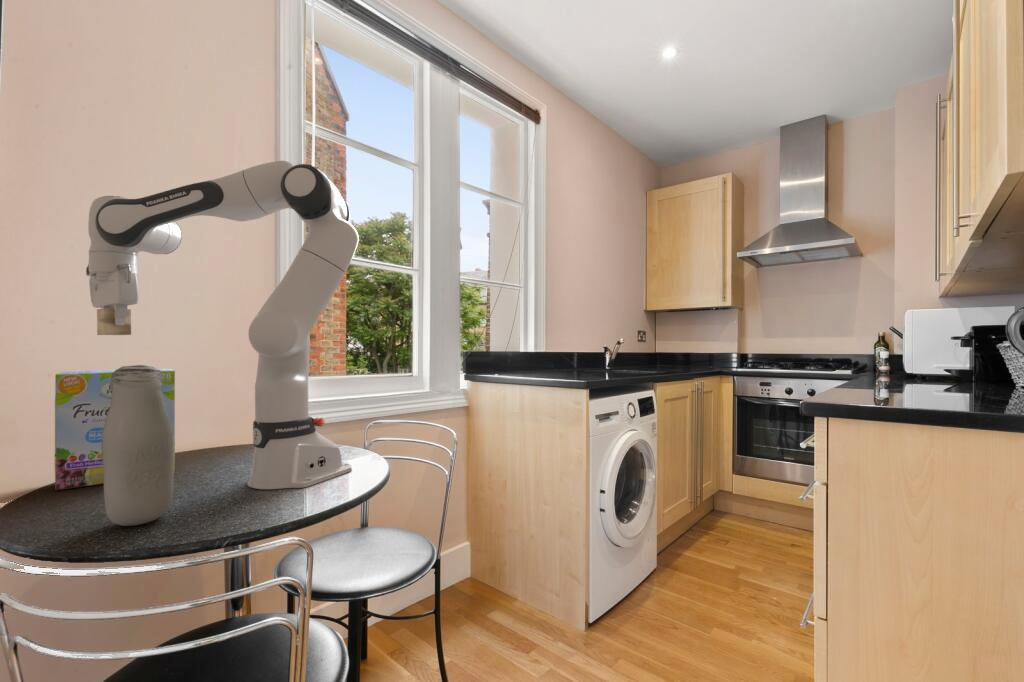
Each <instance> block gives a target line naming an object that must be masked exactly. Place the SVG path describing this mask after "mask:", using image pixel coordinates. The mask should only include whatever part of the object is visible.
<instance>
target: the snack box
mask: <svg viewBox="0 0 1024 682" xmlns="http://www.w3.org/2000/svg"><path fill="white" fill-rule="evenodd" d="M157 369H158V370H160V375H161V380H162V386H161V389H160V391H161V394H162V398H163V401H164V406H165V408H166V412H167V414H168V416H169V418H170V422H171V425H172V429H173V455H174V456H173V474H175V473H174V472H176V471H175V470H176V466H175V464H176V457H175V456H176V454H175V453H176V444H175V443H176V432H175V431H176V409H175V408H176V399H175V398H176V394H175V393H176V392H175V391H176V389H175V388H176V370H175V369H174V368H157ZM115 370H116V369H95V370H94V369H93V370H91V369H90V370H70V371H60V372H56V374H55V377H54V378H55V382H54V384H55V385H54V386H55V390H54V391H55V394H54V483H55V484H54V486H55V487H54V489H55V490H56V491H59V490H66V489H67V490H68V489H73V488H82V487H89V486H95V485H104V472H103V459H102V449H101V448H102V445H101V444H102V433H103V430H104V425H105V422H106V418H107V415H108V411H109V408H110V406H111V396H112V391H111V389H110V381H111V376H112V373H113V372H114V371H115Z"/></svg>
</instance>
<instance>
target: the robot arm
mask: <svg viewBox="0 0 1024 682" xmlns="http://www.w3.org/2000/svg"><path fill="white" fill-rule="evenodd" d="M90 204H91V205H90V208H89V212H88V225H87V226H88V230H87V231H88V236H89V239H90V246H89V250H88V264H87V266H86V268H85V275H86V276H87V277H89V279H88V281H89V294H90V295H89V296H90V300H91V301H90V302H91V305H92V307H93V308H94V309H96V308H97V309H103V308H108V309H114V310H115V318H113V319H114V325H125V317H126V314H127V309H128V306H133V305H137V304H138V303H139V285H138V284H139V283H138V275H139V270H138V269H139V267H138V266H139V265H138V264H139V263H138V262H139V261H138V260H139V258H138V256H139V255H138V254H139V252H145V253H150V254H153V255H169V254H171V253H174V252H175V251H176V250H177V249H178V248H179V247H180V245H181V242H182V239H183V238H182V237H183V235H182V230H181V229H182V228H181V227H180V226H179V224H178V223H177V222H178V221H181V220H184V219H187V218H191V217H192V218H193V217H199V216H207V217H216V218H222V219H226V220H231V221H237V222H249V221H253V220H259V219H262V218H264V217H268V216H269V215H272V214H274V213H276V212H279V211H281V210H282V211H283V210H286V209H292V210H293V211H294V212H295V213H296V214H297V216H298V217H299V218H300V219H301V220H302V221H303V222H304V223H305V224H306V225H308V226H309V228H308V230H309V231H308V234H307V237H306V239H305V240H304V243H303V244H302V245H301V247H300V249H299V250H298V252H297V253H296V255H295V257H294V259H293V261H292V263H290V266H289V267H288V270H287V271H286V273H285V275H284V276H283V278H282V280H281V281H280V282H279V283H278V285H277V286H276V287H275V289H274V290H273V291H272V293H271V294H270V296H269V297H267V300H266V301H265V302H264V304H263V305H262V306H261V309H259V311H258V312H257V314H256V315H255V317H254V319H252V321H251V322H250V325H249V328H248V332H247V333H248V341H249V343H250V345H251V347H252V348H253V349H254V351H256V353H257V354H258V361H257V368H256V370H257V371H256V378H255V383H254V415H255V416H254V417H255V418H254V420H253V422H252V443H253V447H254V448H253V449H254V450H253V459H252V464H251V472H250V475H249V478H248V482H247V486H248V487H249V488H252V489H256V490H257V489H258V490H280V489H289V488H290V489H292V488H293V489H294V488H295V489H296V488H297V489H299V488H307V487H311V486H313V485H316V484H319V483H322V482H325V481H327V480H329V479H333V478H336V477H338V476H341V475H344V474H346V473H349V472H351V471H352V470H353V469H352V465H351V464H349V463H347V462H344V461H343V459H342V454H341V449H340V447H339V446H338V445H337V444H336V443H334V442H333V441H332V440H330V439H329V438H327V437H325V436H324V435H322V434H321V433H319V432H317V429H316V427H320V428H321V427H324V425H325V424H326V422H325V421H326V420H325V419H324V418H322V417H315V418H313V417H312V416H310V415H309V378H310V377H309V376H310V375H309V373H310V351H311V350H310V349H311V348H310V347H311V344H310V343H311V338H310V337H311V333H310V332H311V330H313V328H314V326H315V325H316V324H317V321H318V319H319V318H320V317H321V314H323V312H324V310H325V309H326V307H327V306H328V304H329V303H330V301H331V299H332V298H333V296H334V295H335V294H334V293H335V292H336V291H337V290H338V287H339V285H340V283H341V281H342V279H343V278H344V276H345V274H346V272H347V271H348V269H349V267H350V265H351V262H352V260H353V257H354V255H355V254H356V250H357V247H358V244H359V238H360V237H359V233H358V231H357V230H356V228H355V227H354V226H353V225H352V224H351V223H350V222H351V211H350V208H349V206H348V204H347V203H346V201H345V200H344V198H343V197H342V195H341V193H340V191H339V189H338V188H337V187H336V186H335V184H334V183H333V182H332V181H331V180H330V179H329V178H328V176H327V175H326V174H325V172H323V171H322V170H320V169H318V168H317V167H316V166H313V165H310V164H307V163H301V164H296V165H294V164H292V163H291V162H289V161H287V160H276V161H271V162H264V163H261V164H257V165H253V166H250V167H248V168H246V169H242V170H240V171H236V172H235V173H231V174H228V175H225V176H221V177H218V178H214V179H210V180H205V181H204V180H203V181H200V182H195V183H190V184H186V185H182V186H179V187H175V188H172V189H168V190H164V191H161V192H158V193H154V194H151V195H147V196H144V197H140V198H139V197H138V198H127V197H124V196H118V195H117V196H115V195H104V196H100V197H97V198H95V199H94V200H93V201H92V203H90Z"/></svg>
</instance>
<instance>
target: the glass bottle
mask: <svg viewBox="0 0 1024 682" xmlns="http://www.w3.org/2000/svg"><path fill="white" fill-rule="evenodd" d="M158 369H159V368H156V367H154V366H150V365H142V364H139V365H137V364H136V365H122V366H121V367H119V368H116V369H114V370H115V371H114V372H113V373H112V376H111V381H110V389H111V391H112V396H111V406H110V408H109V411H108V415H107V418H106V422H105V425H104V430H103V433H102V444H101V445H102V448H101V449H102V459H103V472H104V484H103V501H104V502H103V503H104V508H105V515H106V516H107V517H108V519H109V521H111V523H113V524H115V525H118V526H122V527H129V526H130V527H131V526H139V525H144V524H149V523H150V522H153V521H155V520H158V519H159V518H161V517H162V516H164V515H165V514H166V513H167V512H168V511H169V510H170V507H171V505H172V504H173V500H174V473H173V456H174V455H173V429H172V425H171V422H170V418H169V416H168V414H167V412H166V408H165V406H164V401H163V398H162V394H161V391H160V389H161V386H162V380H161V375H160V370H158Z"/></svg>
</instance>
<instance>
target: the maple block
mask: <svg viewBox="0 0 1024 682" xmlns="http://www.w3.org/2000/svg"><path fill="white" fill-rule="evenodd" d="M113 318H115V310H114V309H108V308H103V309H102V308H97V309H96V327H97V328H96V333H97V335H96V336H130V335H131V336H132V310H131V308H129V309H128V308H127V314H126V317H125V325H114V319H113Z"/></svg>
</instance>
